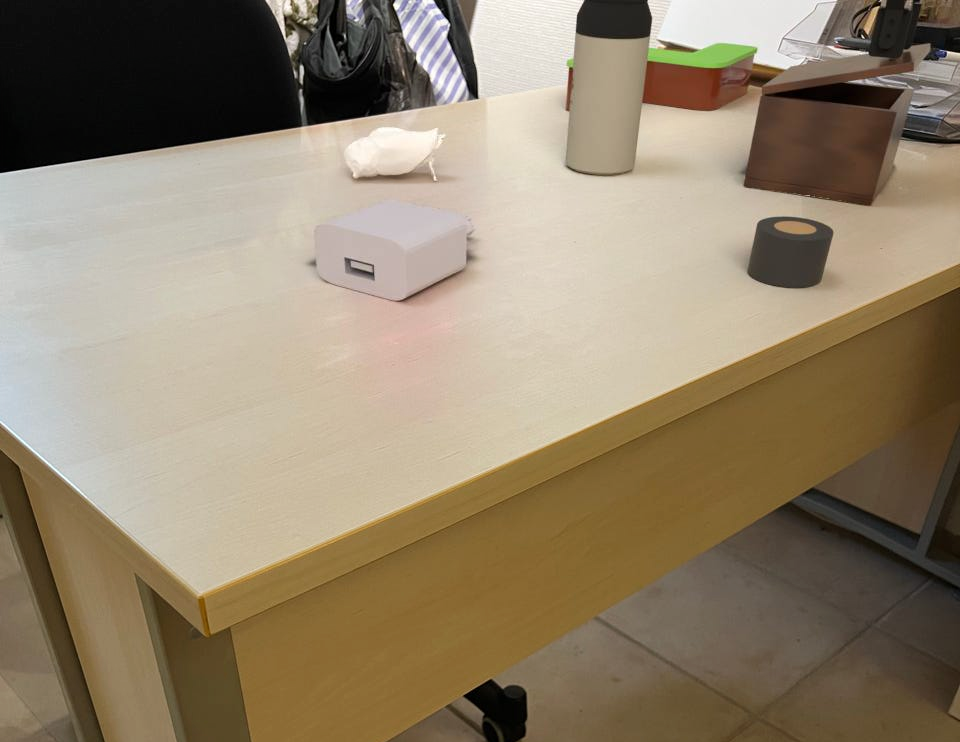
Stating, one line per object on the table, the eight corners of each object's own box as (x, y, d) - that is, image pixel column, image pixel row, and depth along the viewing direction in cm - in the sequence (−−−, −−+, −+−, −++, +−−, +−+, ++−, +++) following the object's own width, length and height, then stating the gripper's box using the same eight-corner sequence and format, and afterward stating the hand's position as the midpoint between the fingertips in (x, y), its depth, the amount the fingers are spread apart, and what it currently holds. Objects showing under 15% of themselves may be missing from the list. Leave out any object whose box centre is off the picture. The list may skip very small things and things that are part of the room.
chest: (889, 176, 110) (914, 89, 104) (870, 206, 100) (897, 112, 94) (771, 159, 114) (789, 74, 108) (743, 186, 105) (760, 95, 99)
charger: (503, 254, 85) (406, 304, 76) (420, 234, 89) (317, 279, 79) (506, 198, 82) (404, 243, 72) (419, 180, 86) (312, 220, 76)
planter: (683, 128, 125) (691, 77, 121) (560, 110, 132) (563, 61, 128) (751, 91, 145) (760, 47, 141) (641, 77, 152) (646, 34, 148)
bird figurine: (426, 181, 107) (339, 160, 104) (442, 120, 102) (352, 95, 99) (431, 202, 104) (342, 181, 101) (448, 140, 99) (355, 116, 96)
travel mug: (645, 166, 110) (669, -22, 98) (613, 180, 105) (635, -16, 93) (586, 154, 113) (602, -28, 102) (552, 168, 108) (565, -23, 97)
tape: (827, 270, 84) (840, 223, 82) (813, 293, 80) (825, 244, 77) (757, 258, 86) (766, 211, 84) (739, 279, 82) (749, 231, 79)
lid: (930, 51, 101) (934, -13, 98) (913, 71, 92) (917, 0, 89) (790, 74, 108) (789, 14, 105) (761, 95, 99) (760, 30, 95)
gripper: (982, -183, 79) (916, 67, 90) (997, -175, 91) (937, 45, 102) (888, -182, 81) (836, 60, 93) (915, -174, 93) (866, 40, 105)
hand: (889, 50), depth 97 cm, fingers closed on lid, 6 cm apart
